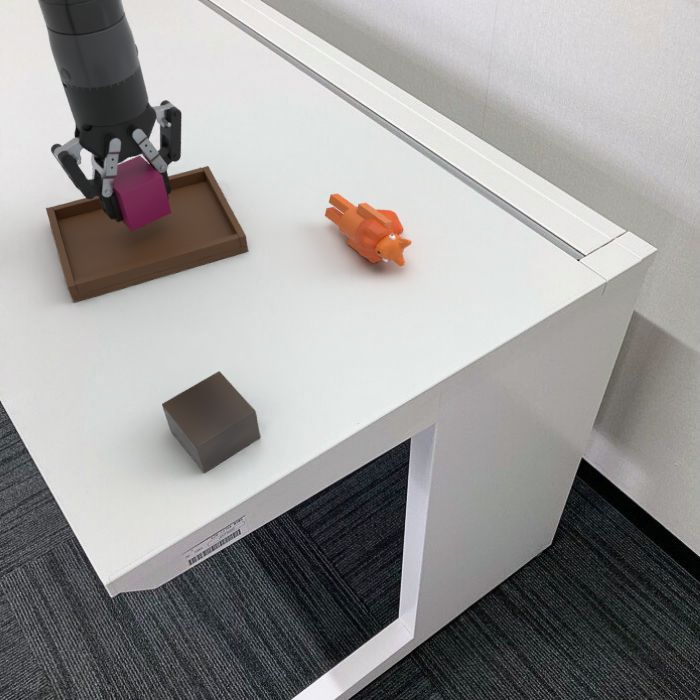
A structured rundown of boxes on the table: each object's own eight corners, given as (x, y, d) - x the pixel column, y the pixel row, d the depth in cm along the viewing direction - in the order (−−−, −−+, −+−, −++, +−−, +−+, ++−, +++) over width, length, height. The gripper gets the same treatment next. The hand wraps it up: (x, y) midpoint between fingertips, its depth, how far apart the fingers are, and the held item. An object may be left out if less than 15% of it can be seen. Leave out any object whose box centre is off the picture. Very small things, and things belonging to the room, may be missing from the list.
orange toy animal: (317, 187, 84) (390, 240, 78) (366, 179, 89) (438, 229, 83) (308, 227, 87) (377, 281, 81) (356, 218, 92) (425, 269, 86)
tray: (73, 302, 81) (67, 287, 80) (51, 223, 90) (45, 208, 89) (248, 251, 86) (246, 235, 85) (211, 181, 95) (208, 165, 94)
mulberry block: (131, 231, 83) (120, 194, 79) (110, 209, 86) (98, 172, 82) (171, 213, 85) (162, 175, 81) (149, 192, 88) (140, 155, 84)
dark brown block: (204, 473, 67) (196, 447, 64) (170, 430, 70) (161, 403, 67) (261, 437, 69) (256, 411, 66) (225, 397, 72) (219, 370, 69)
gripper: (146, 26, 77) (178, 167, 90) (10, 74, 72) (65, 217, 84) (184, 54, 73) (212, 197, 86) (43, 106, 68) (96, 252, 80)
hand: (139, 207), depth 85 cm, fingers closed on mulberry block, 5 cm apart
